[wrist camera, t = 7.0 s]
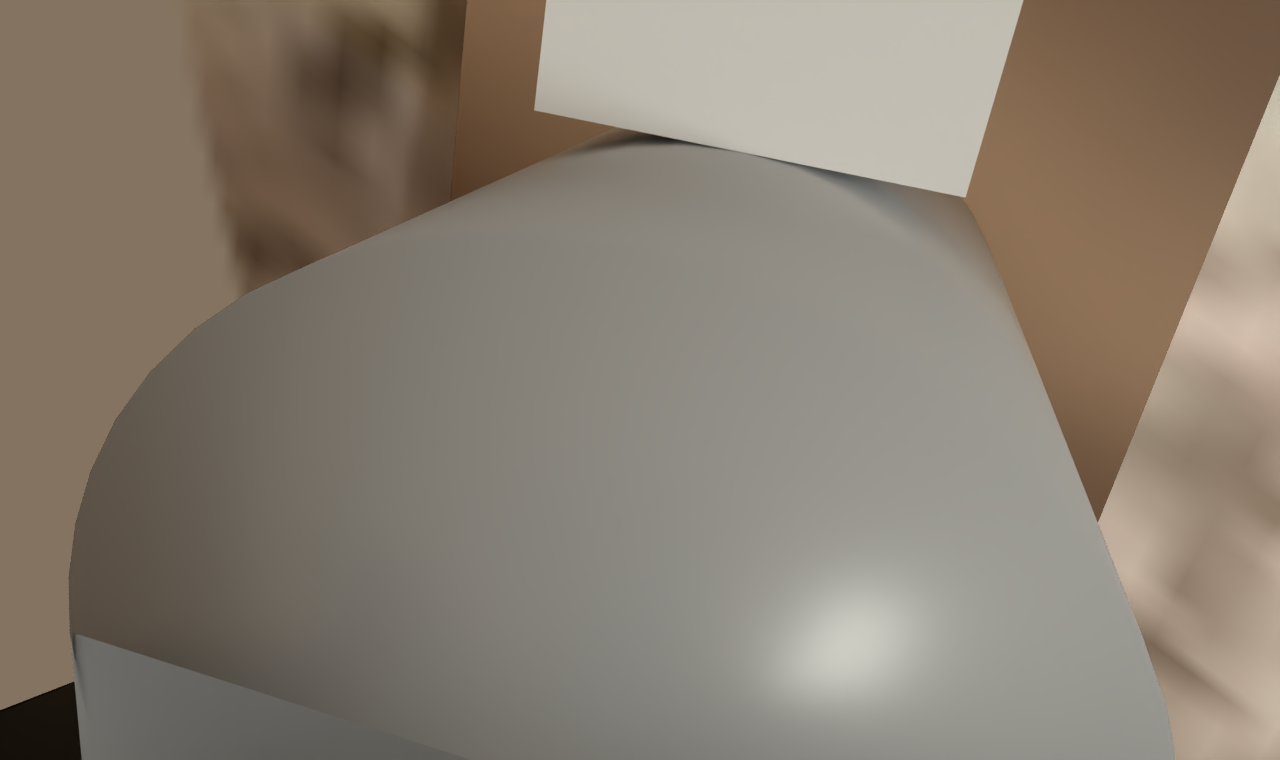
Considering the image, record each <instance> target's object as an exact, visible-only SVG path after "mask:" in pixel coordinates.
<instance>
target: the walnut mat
mask: <svg viewBox="0 0 1280 760" xmlns="http://www.w3.org/2000/svg"><path fill="white" fill-rule="evenodd" d="M545 8H546V0H467V5H466V18H465V30H464V42H463V54H462V66H461V78H460V91H459V103H458V115H457V127H456V139H455V151H454V164H453V176H452V188H451V200H450V201H453V200H455V199H457V198H459V197H462V196H464V195H466V194H468V193H471V192H473V191H475V190H477V189H479V188H482V187H484V186H486V185H488V184H491V183H493V182H495V181H497V180H500V179H502V178H504V177H506V176H509V175H511V174H513V173H515V172H518V171H520V170H522V169H524V168H527V167H529V166H531V165H533V164H536V163H538V162H540V161H542V160H545V159H547V158H549V157H551V156H554V155H556V154H558V153H560V152H562V151H565V150H567V149H569V148H571V147H574V146H576V145H578V144H580V143H583V142H585V141H587V140H589V139H592V138H594V137H596V136H598V135H601V134H603V133H605V132H607V131H610V130H612V129H614V128H616V127H614V126H609V125H604V124H599V123H594V122H589V121H584V120H579V119H574V118H569V117H565V116H560V115H555V114H550V113H545V112H540V111H535V110H534V106H535V97H536V89H537V80H538V71H539V62H540V53H541V44H542V35H543V26H544V17H545ZM1279 75H1280V0H1023V4H1022V7H1021V11H1020V14H1019V17H1018V21H1017V24H1016V28H1015V31H1014V34H1013V38H1012V41H1011V45H1010V48H1009V51H1008V55H1007V58H1006V62H1005V65H1004V68H1003V72H1002V75H1001V79H1000V82H999V85H998V89H997V92H996V96H995V99H994V102H993V106H992V109H991V113H990V116H989V119H988V123H987V126H986V130H985V133H984V136H983V140H982V143H981V147H980V150H979V153H978V157H977V160H976V164H975V167H974V170H973V174H972V177H971V181H970V184H969V187H968V191H967V194H966V198H965V197H962V199H963V200H964V201H965V203H966V204H967V206H968V207H969V208H970V210H971V211H972V213H973V215H974V217H975V219H976V221H977V223H978V225H979V227H980V229H981V231H982V233H983V235H984V237H985V238H986V240H987V243H988V245H989V248H990V250H991V253H992V255H993V258H994V260H995V263H996V266H997V268H998V271H999V273H1000V276H1001V278H1002V281H1003V283H1004V286H1005V288H1006V291H1007V294H1008V296H1009V299H1010V301H1011V304H1012V306H1013V309H1014V311H1015V314H1016V316H1017V319H1018V321H1019V324H1020V327H1021V329H1022V332H1023V334H1024V337H1025V339H1026V342H1027V344H1028V347H1029V349H1030V352H1031V355H1032V357H1033V360H1034V362H1035V365H1036V367H1037V370H1038V372H1039V375H1040V377H1041V380H1042V382H1043V385H1044V388H1045V390H1046V393H1047V395H1048V398H1049V400H1050V403H1051V405H1052V408H1053V410H1054V413H1055V415H1056V418H1057V421H1058V423H1059V426H1060V428H1061V431H1062V433H1063V436H1064V438H1065V441H1066V443H1067V446H1068V449H1069V451H1070V454H1071V456H1072V459H1073V461H1074V464H1075V466H1076V469H1077V471H1078V474H1079V476H1080V479H1081V482H1082V484H1083V487H1084V489H1085V492H1086V494H1087V497H1088V499H1089V502H1090V504H1091V507H1092V510H1093V512H1094V515H1095V517H1096V520H1097V522H1098V521H1099V518H1100V516H1101V513H1102V511H1103V508H1104V506H1105V504H1106V501H1107V499H1108V496H1109V494H1110V491H1111V489H1112V486H1113V484H1114V481H1115V479H1116V476H1117V474H1118V471H1119V469H1120V467H1121V464H1122V462H1123V459H1124V457H1125V454H1126V452H1127V449H1128V447H1129V444H1130V442H1131V439H1132V437H1133V435H1134V432H1135V430H1136V427H1137V425H1138V422H1139V420H1140V417H1141V415H1142V412H1143V410H1144V407H1145V405H1146V403H1147V400H1148V398H1149V395H1150V393H1151V390H1152V388H1153V385H1154V383H1155V380H1156V378H1157V375H1158V373H1159V371H1160V368H1161V366H1162V363H1163V361H1164V358H1165V356H1166V353H1167V351H1168V348H1169V346H1170V343H1171V341H1172V339H1173V336H1174V334H1175V331H1176V329H1177V326H1178V324H1179V321H1180V319H1181V316H1182V314H1183V311H1184V309H1185V307H1186V304H1187V302H1188V299H1189V297H1190V294H1191V292H1192V289H1193V287H1194V284H1195V282H1196V279H1197V277H1198V275H1199V272H1200V270H1201V267H1202V265H1203V262H1204V260H1205V257H1206V255H1207V252H1208V250H1209V247H1210V245H1211V242H1212V240H1213V238H1214V235H1215V233H1216V230H1217V228H1218V225H1219V223H1220V220H1221V218H1222V215H1223V213H1224V210H1225V208H1226V206H1227V203H1228V201H1229V198H1230V196H1231V193H1232V191H1233V188H1234V186H1235V183H1236V181H1237V178H1238V176H1239V174H1240V171H1241V169H1242V166H1243V164H1244V161H1245V159H1246V156H1247V154H1248V151H1249V149H1250V146H1251V144H1252V142H1253V139H1254V137H1255V134H1256V132H1257V129H1258V127H1259V124H1260V122H1261V119H1262V117H1263V114H1264V112H1265V110H1266V107H1267V105H1268V102H1269V100H1270V97H1271V95H1272V92H1273V90H1274V87H1275V85H1276V82H1277V80H1278V78H1279Z"/></svg>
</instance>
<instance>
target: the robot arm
mask: <svg viewBox="0 0 1280 760" xmlns="http://www.w3.org/2000/svg"><path fill="white" fill-rule="evenodd" d="M0 760H82V757H81V746H80V735H79V725H78V714H77V703H76V692H75V681H74V682H72V683H69V684H67V685H64V686H61V687H59V688H56V689H54V690H51V691H49V692H46V693H43V694H41V695H39V696H36V697H33V698H31V699H28V700H25V701H23V702H20V703H18V704H15V705H13V706H10V707H7V708H5V709H2V710H0Z"/></svg>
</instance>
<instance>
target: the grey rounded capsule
mask: <svg viewBox="0 0 1280 760" xmlns="http://www.w3.org/2000/svg"><path fill="white" fill-rule="evenodd" d="M1022 4H1023V0H546V8H545V17H544V26H543V35H542V44H541V53H540V62H539V71H538V80H537V89H536V97H535V106H534V110H535V111H540V112H545V113H550V114H555V115H560V116H565V117H569V118H574V119H579V120H584V121H589V122H594V123H599V124H604V125H609V126H614V127H616V128H614V129H612V130H610V131H607V132H605V133H603V134H601V135H598V136H596V137H594V138H592V139H589V140H587V141H585V142H583V143H580V144H578V145H576V146H574V147H571V148H569V149H567V150H565V151H562V152H560V153H558V154H556V155H554V156H551V157H549V158H547V159H545V160H542V161H540V162H538V163H536V164H533V165H531V166H529V167H527V168H524V169H522V170H520V171H518V172H515V173H513V174H511V175H509V176H506V177H504V178H502V179H500V180H497V181H495V182H493V183H491V184H488V185H486V186H484V187H482V188H479V189H477V190H475V191H473V192H471V193H468V194H466V195H464V196H462V197H459V198H457V199H455V200H453V201H450V202H448V203H446V204H444V205H441V206H439V207H437V208H435V209H432V210H430V211H428V212H426V213H423V214H421V215H419V216H417V217H414V218H412V219H410V220H408V221H405V222H403V223H401V224H399V225H396V226H394V227H392V228H390V229H388V230H385V231H383V232H381V233H379V234H376V235H374V236H372V237H370V238H367V239H365V240H363V241H361V242H358V243H356V244H354V245H352V246H349V247H347V248H345V249H343V250H340V251H338V252H336V253H334V254H331V255H329V256H327V257H325V258H322V259H320V260H318V261H316V262H314V263H311V264H309V265H307V266H305V267H303V268H300V269H298V270H296V271H294V272H292V273H289V274H287V275H285V276H283V277H281V278H279V279H276V280H274V281H272V282H270V283H268V284H265V285H263V286H261V287H259V288H257V289H255V290H252V291H250V292H248V293H247V294H245V295H244V296H242V297H241V298H239V299H238V300H237V301H235V302H234V303H232V304H231V305H229V306H228V307H226V308H225V309H223V310H222V311H220V312H219V313H217V314H216V315H215V316H213V317H212V318H210V319H209V320H207V321H206V322H204V323H203V324H201V325H200V326H198V327H197V328H195V329H194V330H193V331H192V332H191V333H190V334H189V335H188V336H187V337H186V338H185V339H184V340H183V341H182V342H181V343H180V344H179V345H178V346H177V347H175V348H174V349H173V351H171V352H170V353H169V354H168V355H167V356H166V357H165V358H164V359H163V360H162V361H161V362H160V363H159V364H158V365H157V366H156V367H155V368H154V369H153V370H152V371H151V372H150V373H149V374H148V376H147V377H146V378H145V380H144V382H143V383H142V384H141V385H140V387H139V388H138V390H137V391H136V392H135V394H134V395H133V396H132V398H131V399H130V401H129V402H128V403H127V405H126V406H125V407H124V409H123V410H122V412H121V413H120V414H119V416H118V417H117V419H116V420H115V422H114V424H113V426H112V428H111V430H110V432H109V434H108V436H107V439H106V441H105V443H104V445H103V447H102V449H101V451H100V453H99V455H98V457H97V459H96V461H95V463H94V465H93V467H92V469H91V472H90V476H89V479H88V482H87V486H86V489H85V493H84V496H83V500H82V503H81V506H80V510H79V514H78V517H77V520H76V524H75V532H74V540H73V549H72V556H71V563H70V572H69V611H70V612H69V613H70V638H71V649H72V659H73V670H74V681H75V692H76V703H77V714H78V725H79V735H80V746H81V757H82V760H1175V754H1174V748H1173V741H1172V735H1171V729H1170V722H1169V716H1168V710H1167V707H1166V704H1165V701H1164V698H1163V695H1162V693H1161V690H1160V687H1159V684H1158V681H1157V678H1156V675H1155V672H1154V669H1153V666H1152V663H1151V660H1150V657H1149V654H1148V651H1147V648H1146V646H1145V643H1144V640H1143V637H1142V634H1141V631H1140V629H1139V626H1138V624H1137V621H1136V619H1135V616H1134V614H1133V611H1132V609H1131V606H1130V604H1129V601H1128V598H1127V596H1126V593H1125V591H1124V588H1123V586H1122V583H1121V581H1120V578H1119V576H1118V573H1117V570H1116V568H1115V565H1114V563H1113V560H1112V558H1111V555H1110V553H1109V550H1108V548H1107V545H1106V543H1105V540H1104V537H1103V535H1102V532H1101V530H1100V527H1099V525H1098V522H1097V520H1096V517H1095V515H1094V512H1093V510H1092V507H1091V504H1090V502H1089V499H1088V497H1087V494H1086V492H1085V489H1084V487H1083V484H1082V482H1081V479H1080V476H1079V474H1078V471H1077V469H1076V466H1075V464H1074V461H1073V459H1072V456H1071V454H1070V451H1069V449H1068V446H1067V443H1066V441H1065V438H1064V436H1063V433H1062V431H1061V428H1060V426H1059V423H1058V421H1057V418H1056V415H1055V413H1054V410H1053V408H1052V405H1051V403H1050V400H1049V398H1048V395H1047V393H1046V390H1045V388H1044V385H1043V382H1042V380H1041V377H1040V375H1039V372H1038V370H1037V367H1036V365H1035V362H1034V360H1033V357H1032V355H1031V352H1030V349H1029V347H1028V344H1027V342H1026V339H1025V337H1024V334H1023V332H1022V329H1021V327H1020V324H1019V321H1018V319H1017V316H1016V314H1015V311H1014V309H1013V306H1012V304H1011V301H1010V299H1009V296H1008V294H1007V291H1006V288H1005V286H1004V283H1003V281H1002V278H1001V276H1000V273H999V271H998V268H997V266H996V263H995V260H994V258H993V255H992V253H991V250H990V248H989V245H988V243H987V240H986V238H985V237H984V235H983V233H982V231H981V229H980V227H979V225H978V223H977V221H976V219H975V217H974V215H973V213H972V211H971V210H970V208H969V207H968V206H967V204H966V203H965V201H964V200H963V199H962V197H965V198H966V194H967V191H968V187H969V184H970V181H971V177H972V174H973V170H974V167H975V164H976V160H977V157H978V153H979V150H980V147H981V143H982V140H983V136H984V133H985V130H986V126H987V123H988V119H989V116H990V113H991V109H992V106H993V102H994V99H995V96H996V92H997V89H998V85H999V82H1000V79H1001V75H1002V72H1003V68H1004V65H1005V62H1006V58H1007V55H1008V51H1009V48H1010V45H1011V41H1012V38H1013V34H1014V31H1015V28H1016V24H1017V21H1018V17H1019V14H1020V11H1021V7H1022Z"/></svg>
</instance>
